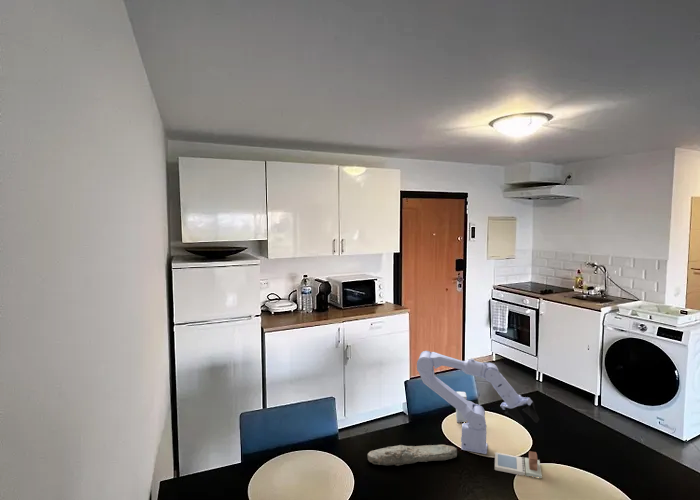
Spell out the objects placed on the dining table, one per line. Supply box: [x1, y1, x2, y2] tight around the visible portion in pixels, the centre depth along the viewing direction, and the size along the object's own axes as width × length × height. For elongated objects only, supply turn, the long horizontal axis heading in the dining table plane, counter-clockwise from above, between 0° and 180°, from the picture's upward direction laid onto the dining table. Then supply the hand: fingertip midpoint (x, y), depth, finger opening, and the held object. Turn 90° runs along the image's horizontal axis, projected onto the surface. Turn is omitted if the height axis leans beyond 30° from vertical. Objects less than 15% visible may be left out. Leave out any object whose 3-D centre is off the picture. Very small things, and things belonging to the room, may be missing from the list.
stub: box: [524, 450, 543, 479], centre depth 142 cm, size 5×10×5 cm, turn 159°
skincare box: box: [455, 390, 468, 423], centre depth 179 cm, size 6×4×12 cm
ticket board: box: [494, 451, 526, 476], centre depth 144 cm, size 10×10×1 cm
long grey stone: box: [367, 444, 458, 467], centre depth 149 cm, size 35×5×10 cm
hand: (530, 421), depth 150 cm, fingers open, 7 cm apart
